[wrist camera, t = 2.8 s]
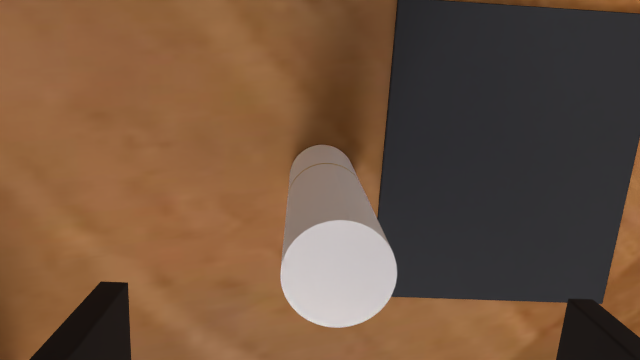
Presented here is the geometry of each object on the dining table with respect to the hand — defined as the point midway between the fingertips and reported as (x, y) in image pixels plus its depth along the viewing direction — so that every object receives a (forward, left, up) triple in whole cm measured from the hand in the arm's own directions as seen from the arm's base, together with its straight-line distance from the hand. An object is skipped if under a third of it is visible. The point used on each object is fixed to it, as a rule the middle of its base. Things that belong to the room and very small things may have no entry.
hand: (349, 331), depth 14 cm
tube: (0, 0, -19) cm, 19 cm away
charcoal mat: (-2, +12, -18) cm, 22 cm away
